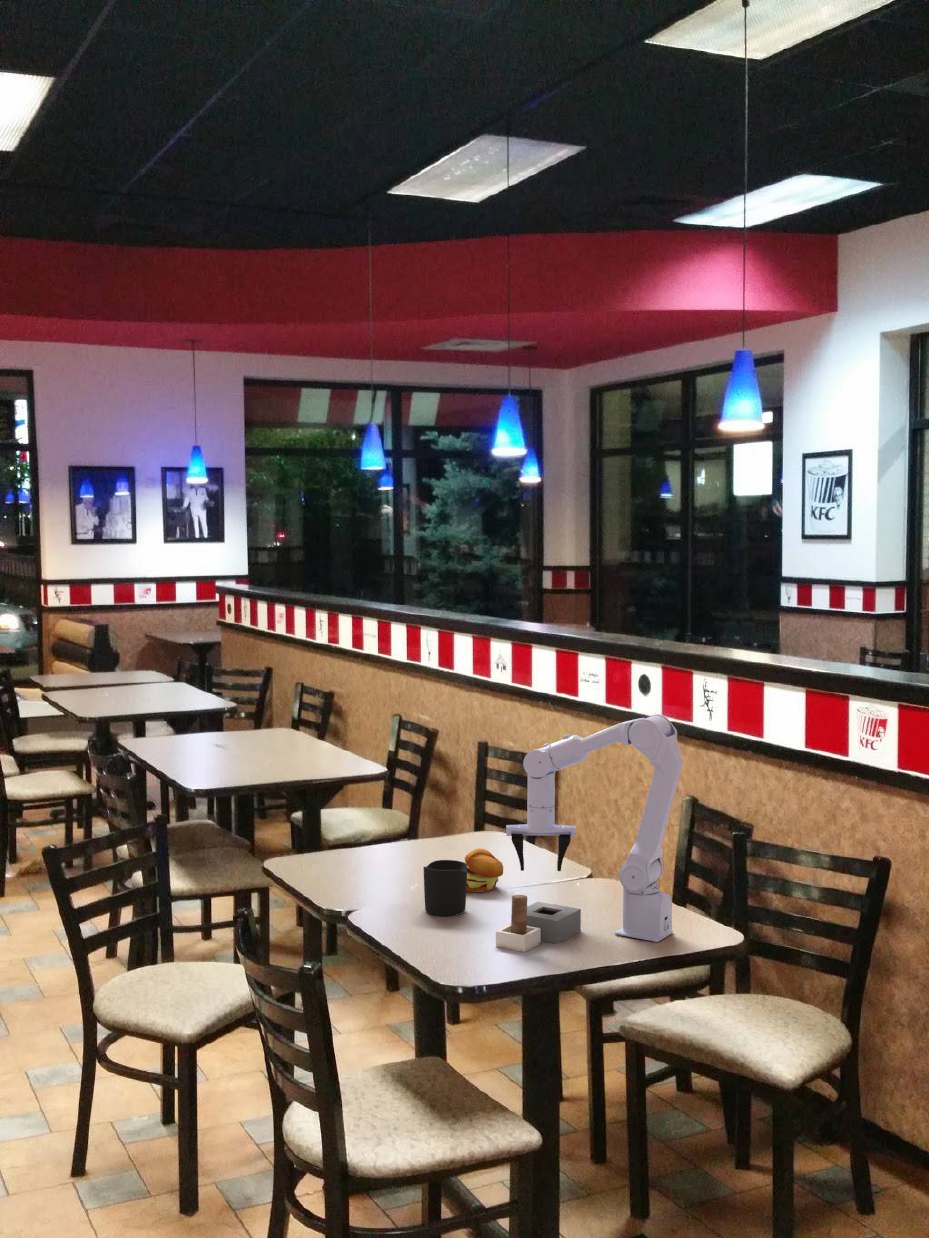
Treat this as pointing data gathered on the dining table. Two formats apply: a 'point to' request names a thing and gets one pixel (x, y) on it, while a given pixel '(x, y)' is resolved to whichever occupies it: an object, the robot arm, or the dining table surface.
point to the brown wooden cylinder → (519, 914)
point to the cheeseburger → (482, 870)
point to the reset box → (554, 921)
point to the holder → (518, 938)
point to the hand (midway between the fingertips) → (540, 869)
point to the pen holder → (445, 887)
